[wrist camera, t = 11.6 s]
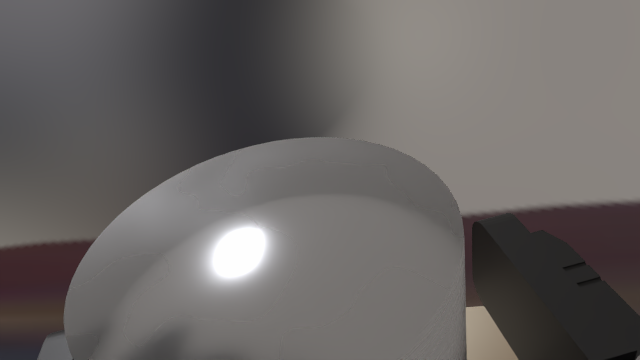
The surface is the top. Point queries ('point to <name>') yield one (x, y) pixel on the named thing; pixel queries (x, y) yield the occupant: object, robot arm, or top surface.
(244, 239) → the grey cylinder
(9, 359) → the top surface
